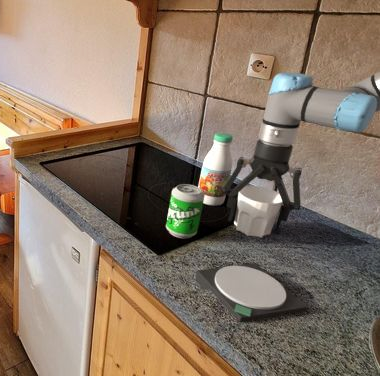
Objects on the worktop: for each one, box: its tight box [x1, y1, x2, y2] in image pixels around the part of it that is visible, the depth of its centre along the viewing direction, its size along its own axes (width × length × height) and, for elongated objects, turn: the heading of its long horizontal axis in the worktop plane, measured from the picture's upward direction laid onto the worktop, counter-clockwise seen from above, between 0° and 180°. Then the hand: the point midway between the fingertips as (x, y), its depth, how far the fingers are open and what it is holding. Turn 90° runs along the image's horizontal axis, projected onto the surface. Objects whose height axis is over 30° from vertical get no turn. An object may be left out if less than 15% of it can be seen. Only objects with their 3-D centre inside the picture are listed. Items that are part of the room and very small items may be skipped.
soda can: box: [165, 183, 205, 239], centre depth 99 cm, size 8×8×12 cm
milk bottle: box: [197, 132, 233, 206], centre depth 115 cm, size 8×8×20 cm
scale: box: [195, 262, 308, 323], centre depth 79 cm, size 14×14×3 cm
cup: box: [233, 185, 283, 239], centre depth 102 cm, size 10×10×10 cm
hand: (252, 224), depth 104 cm, fingers closed on cup, 10 cm apart
